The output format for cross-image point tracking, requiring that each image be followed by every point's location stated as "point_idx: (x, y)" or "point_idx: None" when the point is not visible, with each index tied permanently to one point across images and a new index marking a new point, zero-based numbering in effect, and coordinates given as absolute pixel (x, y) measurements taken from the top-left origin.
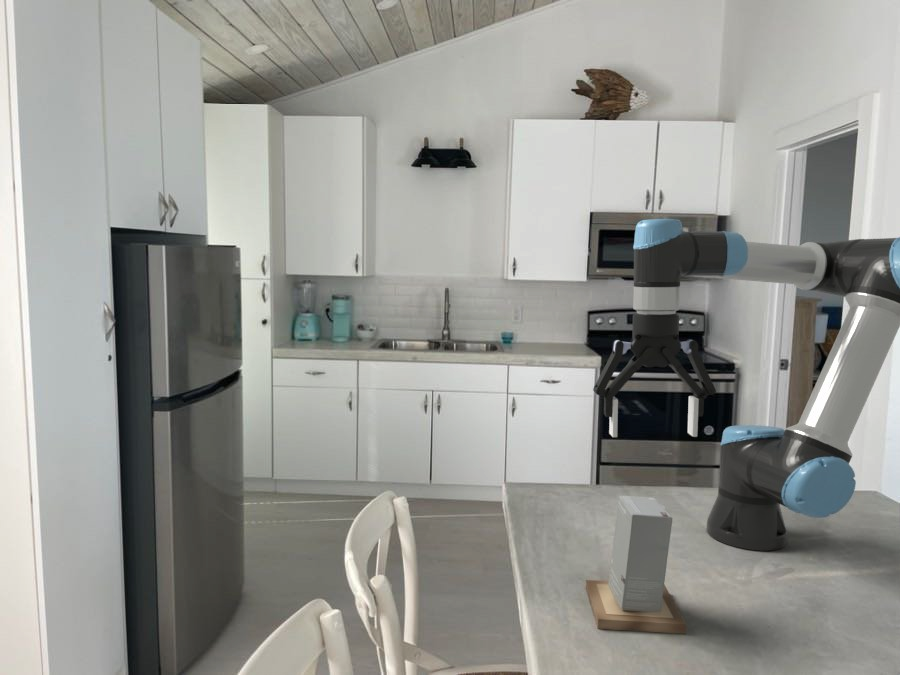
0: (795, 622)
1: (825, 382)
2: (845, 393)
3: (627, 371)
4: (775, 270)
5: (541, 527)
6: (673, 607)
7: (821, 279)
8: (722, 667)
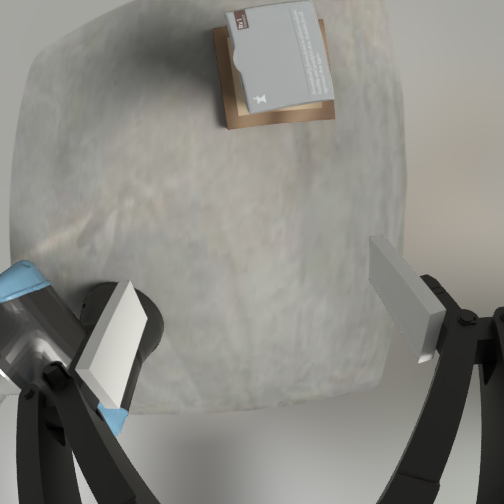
0: (87, 105)
1: None
2: None
3: (450, 442)
4: None
5: (368, 289)
6: (222, 65)
7: None
8: None
